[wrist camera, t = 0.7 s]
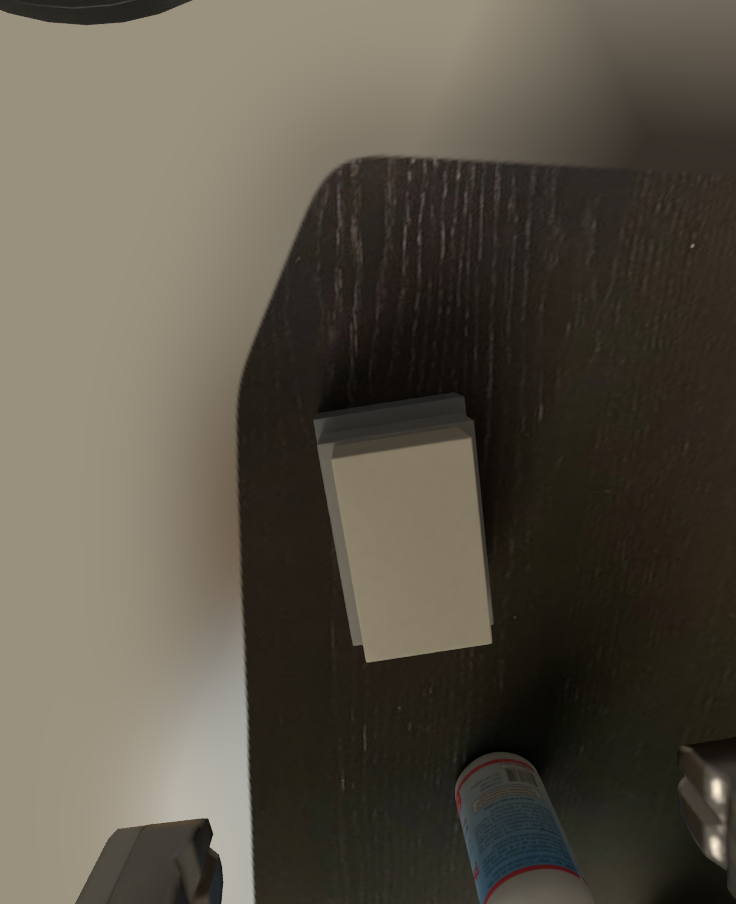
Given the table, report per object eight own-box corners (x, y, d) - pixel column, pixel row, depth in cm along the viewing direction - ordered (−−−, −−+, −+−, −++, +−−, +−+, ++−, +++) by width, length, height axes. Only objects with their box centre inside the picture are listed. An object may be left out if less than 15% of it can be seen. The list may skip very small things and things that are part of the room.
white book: (332, 445, 22) (330, 458, 19) (459, 426, 22) (472, 436, 19) (364, 631, 24) (366, 663, 21) (478, 613, 24) (492, 644, 21)
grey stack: (316, 413, 26) (308, 428, 21) (454, 391, 26) (478, 402, 21) (349, 599, 29) (348, 650, 24) (474, 580, 29) (499, 627, 24)
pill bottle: (435, 784, 32) (478, 1008, 22) (500, 732, 32) (578, 936, 21) (492, 830, 34) (559, 1064, 23) (555, 781, 33) (657, 999, 22)
